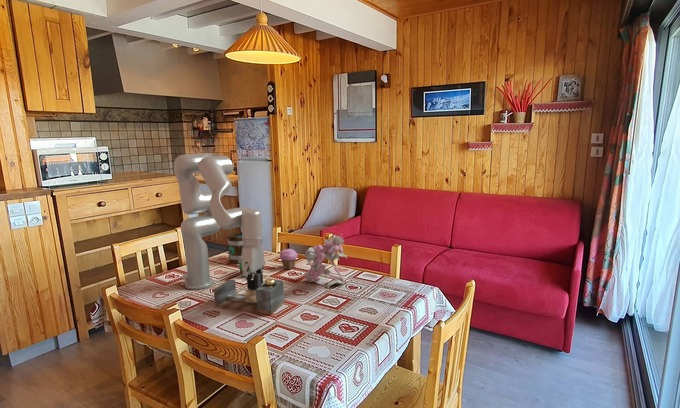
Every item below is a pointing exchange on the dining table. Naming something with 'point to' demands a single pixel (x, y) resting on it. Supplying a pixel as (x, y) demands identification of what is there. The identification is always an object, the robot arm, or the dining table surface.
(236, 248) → the mug
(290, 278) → the dining table surface
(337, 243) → the flower
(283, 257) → the cupcake
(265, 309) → the rail base
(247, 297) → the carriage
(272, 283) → the button
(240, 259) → the food container
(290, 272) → the dining table surface
